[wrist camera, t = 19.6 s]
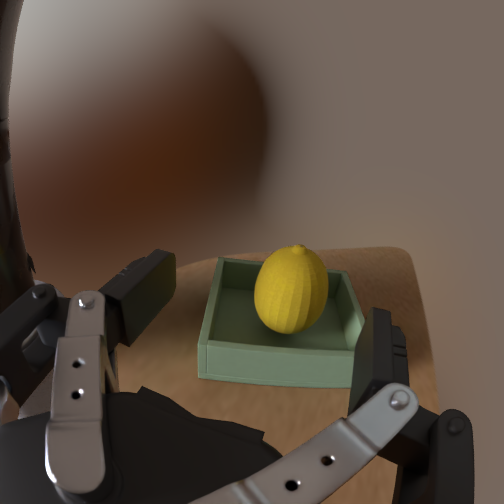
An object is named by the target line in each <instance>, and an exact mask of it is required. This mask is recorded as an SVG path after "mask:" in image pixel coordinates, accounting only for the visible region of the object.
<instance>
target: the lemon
mask: <svg viewBox="0 0 504 504" xmlns="http://www.w3.org/2000/svg"><path fill="white" fill-rule="evenodd" d="M328 286H329V283H328V274H327V270H326V267H325V265H324V264H323V262H322V260H321V259H320V258H319V257H318V256H317V255H316V254H315V253H314V252H312V251H311V250H309V249H307V248H306V247H305V246H304V245H300V244H298V245H296V246H288V247H284V248H281V249H279V250H277V251H275V252H274V253H272V254H271V255H270V256H269V257H268V258H267V259H266V261H265V262H264V264H263V266H262V268H261V270H260V272H259V274H258V277H257V280H256V284H255V290H254V300H255V307H256V310H257V313H258V315H259V317H260V319H261V320H262V321H263V322H264V324H265V325H266V326H268V327H269V328H270V329H272V330H274V331H276V332H278V333H282V334H296V333H299V332H302V331H304V330H306V329H308V328H309V327H311V326H312V325H313V324H314V323H315V322H316V321H317V319H318V318H319V317H320V315H321V314H322V312H323V309H324V307H325V304H326V300H327V296H328Z"/></svg>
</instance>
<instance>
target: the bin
mask: <svg viewBox="0 0 504 504" xmlns="http://www.w3.org/2000/svg"><path fill="white" fill-rule="evenodd" d="M263 264H264V262H259V261H250V260H241V259H232V258H224V257H218V261H217V265H216V269H215V273H214V277H213V281H212V286H211V290H210V294H209V298H208V302H207V307H206V311H205V315H204V320H203V324H202V328H201V333H200V337H199V342H198V377H199V378H204V379H211V380H219V381H228V382H237V383H247V384H259V385H272V386H288V387H311V388H351V383H352V373H353V362H354V351H355V346H356V342H357V339H358V336H359V334H360V332H361V329H362V327H363V325H364V322H365V319H364V316H363V314H362V311H361V308H360V306H359V303H358V300H357V298H356V295H355V292H354V290H353V287H352V284H351V282H350V279H349V277H348V274H347V272H346V271H340V270H332V269H326V270H327V274H328V283H329V286H328V296H327V300H326V304H325V307H324V309H323V312H322V314H321V315H320V317H319V318H318V319H317V321H316V322H315V323H314V324H313V325H312V326H311V327H309V328H308V329H306V330H304V331H302V332H299V333H296V334H282V333H278V332H276V331H274V330H272V329H270V328H269V327H268V326H266V325H265V324H264V322H263V321H262V320H261V319H260V317H259V315H258V313H257V310H256V307H255V300H254V290H255V284H256V280H257V277H258V274H259V272H260V270H261V268H262V266H263Z"/></svg>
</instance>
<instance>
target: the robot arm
mask: <svg viewBox="0 0 504 504" xmlns="http://www.w3.org/2000/svg"><path fill="white" fill-rule="evenodd" d="M23 1H24V0H0V504H320V503H321V502H323V501H324V500H325V499H327V498H328V497H329V496H330V495H332V494H333V493H334V492H335V491H337V490H338V489H339V488H340V487H341V486H343V485H344V484H345V483H346V482H347V481H349V480H350V479H351V478H352V477H353V476H354V475H356V474H357V473H358V472H359V471H360V470H361V469H362V468H363V467H365V466H366V465H367V464H368V463H369V462H370V461H371V460H372V459H373V458H374V457H375V456H376V455H378V456H380V457H382V458H385V459H387V460H389V461H391V462H393V463H395V464H397V465H398V467H397V475H396V482H395V488H394V494H393V500H392V504H474V446H473V431H472V425H471V422H470V420H469V418H468V417H467V416H466V415H465V414H464V413H463V412H461V411H459V410H456V409H449V410H446V411H444V412H443V413H442V414H441V415H440V416H439V415H437V414H435V413H433V412H431V411H429V410H426V409H425V408H423V407H421V406H420V405H419V401H418V397H417V395H416V394H415V392H414V391H413V390H412V389H411V388H410V387H409V372H408V360H407V349H406V339H405V336H404V334H403V332H402V331H401V329H400V327H398V326H393V325H392V322H391V312H390V311H388V310H383V309H379V308H375V307H371V309H370V310H369V313H368V315H367V318H366V320H365V322H364V325H363V327H362V329H361V332H360V334H359V336H358V339H357V342H356V346H355V351H354V362H353V373H352V383H351V391H350V400H349V408H348V415H347V418H345V419H344V418H343V417H342V418H340V419H338V420H336V421H335V422H333V423H332V424H331V425H329V426H328V427H327V428H325V429H324V430H322V431H321V432H320V433H318V434H317V435H315V436H314V437H313V438H311V439H310V440H308V441H307V442H305V443H304V444H302V445H301V446H299V447H298V448H296V449H295V450H293V451H292V452H290V453H288V454H287V455H285V456H284V457H283V456H282V455H281V453H279V452H278V451H277V450H276V449H275V448H274V447H272V446H271V445H269V444H268V443H266V442H264V441H263V440H262V439H263V436H264V433H265V432H263V431H260V430H257V429H253V428H250V427H247V426H244V425H241V424H237V423H234V422H229V421H221V420H213V419H206V418H199V417H196V416H194V415H193V414H191V413H190V412H188V411H187V410H185V409H184V408H183V407H181V406H180V405H178V404H177V403H176V402H174V401H173V400H171V399H170V398H168V397H166V396H164V395H161V394H159V393H157V392H154V391H152V390H150V389H148V388H146V387H143V386H142V387H141V388H140V389H139V391H138V392H137V393H132V392H120V390H119V382H118V368H117V352H116V346H117V345H118V343H121V344H124V345H126V346H128V347H130V346H131V344H132V343H133V342H134V341H135V340H136V339H137V337H138V336H139V335H140V334H141V333H142V332H143V330H144V329H145V328H146V327H147V326H148V325H149V323H150V322H151V321H152V320H153V319H154V318H155V317H156V315H157V314H158V313H159V312H160V311H161V310H162V308H163V307H164V306H165V305H166V304H167V303H168V302H169V300H170V299H171V298H172V297H173V295H174V292H175V289H176V258H175V255H174V253H170V252H167V251H163V250H160V249H156V250H154V251H153V252H152V253H151V254H150V255H149V256H147V257H143V258H140V259H138V260H135V261H133V262H131V263H130V264H129V265H128V266H127V267H126V268H125V269H123V270H122V271H121V272H119V274H117V275H116V276H115V277H113V278H112V279H111V280H110V281H109V282H108V283H106V284H105V285H104V286H103V287H102V288H101V289H99V290H98V291H94V290H86V291H82V292H80V293H77V294H76V295H74V296H73V297H72V298H65V297H58V296H57V293H56V289H55V287H54V286H53V285H51V284H47V283H43V284H38V285H35V282H34V279H33V275H32V271H31V268H32V270H33V271H34V272H35V269H34V265H33V261H32V258H31V257H30V256H29V254H28V253H27V252H26V248H25V243H24V239H23V234H22V230H21V225H20V219H19V214H18V208H17V202H16V196H15V188H14V181H13V173H12V163H11V153H10V139H9V119H7V118H8V116H9V114H8V113H9V108H8V106H9V105H8V102H9V90H10V82H11V72H12V62H13V51H14V44H15V37H16V32H17V26H18V22H19V17H20V13H21V9H22V5H23ZM35 273H36V272H35ZM38 335H39V336H38ZM37 336H38V337H37ZM24 349H25V350H24ZM23 350H24V351H23ZM22 351H23V352H22ZM53 367H54V373H53V384H52V398H51V411H49V412H45V413H42V414H38V415H34V416H31V417H27V418H23V419H18V416H19V409H20V407H21V406H22V405H23V404H24V402H25V401H26V400H27V399H28V397H29V396H30V395H31V394H32V393H33V391H34V390H35V389H36V388H37V386H38V385H39V384H40V383H41V382H42V380H43V379H44V378H45V377H46V376H47V374H48V373H49V372H50V371H51V370H52V369H53Z"/></svg>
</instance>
